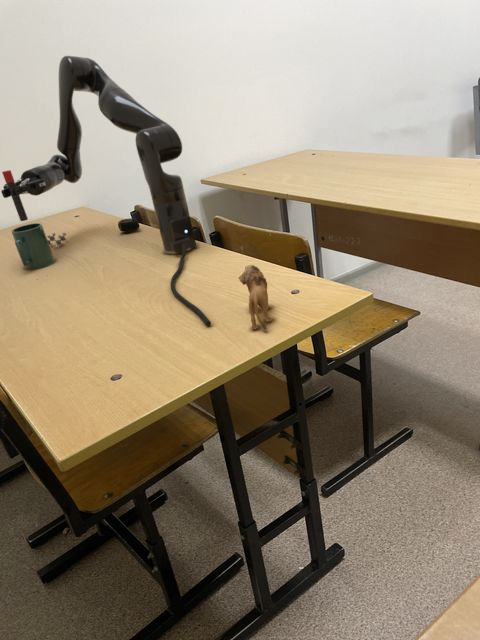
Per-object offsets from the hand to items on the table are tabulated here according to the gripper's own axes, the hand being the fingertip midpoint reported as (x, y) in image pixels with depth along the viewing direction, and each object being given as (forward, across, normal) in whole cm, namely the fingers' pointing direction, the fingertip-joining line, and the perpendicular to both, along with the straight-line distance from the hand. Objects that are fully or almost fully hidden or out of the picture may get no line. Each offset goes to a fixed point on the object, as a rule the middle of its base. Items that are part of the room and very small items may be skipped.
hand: (7, 193), depth 149 cm
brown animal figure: (+44, +77, +22) cm, 91 cm away
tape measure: (-30, +19, +20) cm, 41 cm away
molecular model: (-20, -5, +22) cm, 30 cm away
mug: (-1, 0, +22) cm, 22 cm away
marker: (-3, 0, +8) cm, 9 cm away
